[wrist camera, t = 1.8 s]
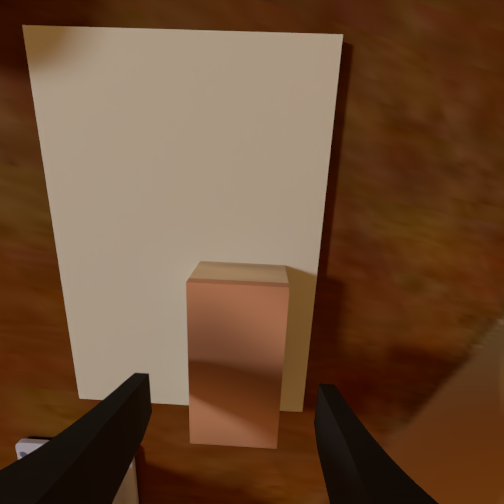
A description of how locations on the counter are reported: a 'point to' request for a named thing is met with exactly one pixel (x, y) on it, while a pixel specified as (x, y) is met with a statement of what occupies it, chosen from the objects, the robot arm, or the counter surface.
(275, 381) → the pink and beige box
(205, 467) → the counter surface
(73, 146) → the mat
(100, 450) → the robot arm
